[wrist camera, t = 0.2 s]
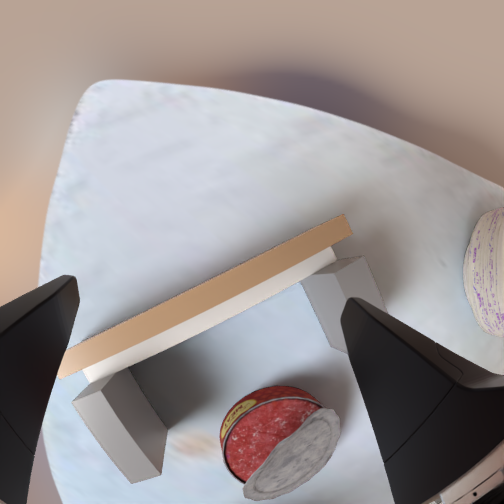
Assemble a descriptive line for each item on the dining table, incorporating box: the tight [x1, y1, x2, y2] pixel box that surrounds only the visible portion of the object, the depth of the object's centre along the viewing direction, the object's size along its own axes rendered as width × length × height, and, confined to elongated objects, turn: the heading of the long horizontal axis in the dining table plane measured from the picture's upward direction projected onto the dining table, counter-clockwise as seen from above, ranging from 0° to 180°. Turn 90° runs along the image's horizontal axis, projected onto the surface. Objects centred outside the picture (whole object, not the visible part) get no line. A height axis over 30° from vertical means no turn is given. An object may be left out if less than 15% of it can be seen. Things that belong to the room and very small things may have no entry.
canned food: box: [220, 386, 341, 501], centre depth 21 cm, size 11×10×10 cm
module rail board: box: [57, 214, 388, 484], centre depth 20 cm, size 10×22×7 cm, turn 117°
